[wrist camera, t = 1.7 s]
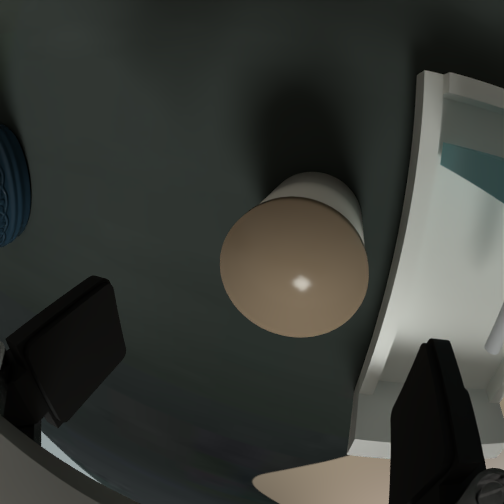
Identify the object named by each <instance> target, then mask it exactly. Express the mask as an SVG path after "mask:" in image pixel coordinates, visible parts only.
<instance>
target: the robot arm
mask: <svg viewBox="0 0 504 504" xmlns="http://www.w3.org/2000/svg"><path fill="white" fill-rule="evenodd" d="M6 341H7V344H8V346H9V348H10V349H8V350H7V351H6V349H5V346H4V344H3V343H2V342H1V341H0V504H140V503H138V502H136V501H133V500H131V499H129V498H127V497H125V496H123V495H121V494H119V493H117V492H115V491H113V490H111V489H109V488H107V487H106V486H104V485H102V484H100V483H98V482H96V481H95V480H93V479H91V478H89V477H88V476H86V475H84V474H83V473H81V472H79V471H78V470H76V469H74V468H73V467H71V466H70V465H68V464H66V463H65V462H63V461H62V460H60V459H59V458H57V457H56V456H54V455H53V454H51V453H50V452H48V451H47V450H45V449H44V448H43V447H41V419H42V418H43V417H45V418H46V420H47V421H48V422H49V423H51V424H52V425H54V426H55V427H57V428H59V427H60V426H61V424H62V423H63V422H67V421H68V420H69V419H70V418H71V417H72V416H73V415H74V414H75V412H76V411H77V410H78V409H79V408H80V407H81V406H82V404H83V403H84V402H85V401H86V400H87V399H88V398H89V397H90V395H91V394H92V393H93V392H94V391H95V390H96V389H97V388H98V386H99V385H100V384H101V383H102V382H103V381H104V380H105V379H106V377H107V376H108V375H109V374H110V373H111V372H112V371H113V370H114V368H115V367H116V366H117V365H118V364H119V363H120V362H121V361H122V360H123V358H124V356H125V354H126V347H125V343H124V338H123V334H122V329H121V325H120V320H119V315H118V310H117V305H116V300H115V294H114V289H113V286H112V285H111V284H110V282H109V280H108V279H105V278H102V277H98V276H90V277H89V278H87V279H86V280H84V281H83V282H81V283H80V284H79V285H77V286H76V287H74V288H73V289H72V290H70V291H69V292H67V293H66V294H65V295H63V296H62V297H60V298H59V299H58V300H56V301H55V302H54V303H52V304H51V305H49V306H48V307H47V308H45V309H44V310H43V311H41V312H40V313H39V314H37V315H36V316H35V317H33V318H32V319H31V320H29V321H28V322H27V323H25V324H24V325H23V326H21V327H20V328H19V329H18V330H16V331H15V332H14V333H12V334H11V335H10V336H9V337H7V338H6ZM390 427H391V463H390V464H391V465H390V491H389V504H504V470H502V469H498V468H490V469H486V466H485V460H484V455H483V449H482V445H481V440H480V435H479V431H478V426H477V422H476V418H475V414H474V410H473V406H472V402H471V399H470V395H469V393H468V390H466V389H465V387H464V384H463V380H462V377H461V374H460V370H459V367H458V364H457V361H456V358H455V355H454V351H453V348H452V345H451V343H450V341H449V340H443V339H433V338H431V339H429V340H428V342H427V343H422V344H421V346H420V348H419V350H418V353H417V355H416V358H415V360H414V363H413V365H412V367H411V369H410V372H409V374H408V376H407V379H406V381H405V383H404V385H403V387H402V389H401V392H400V394H399V396H398V398H397V400H396V402H395V404H394V406H393V408H392V411H391V417H390Z"/></svg>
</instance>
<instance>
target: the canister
mask: <svg viewBox="0 0 504 504" xmlns="http://www.w3.org/2000/svg"><path fill="white" fill-rule="evenodd" d="M30 204H31V193H30V181H29V174H28V169H27V164H26V160H25V157H24V154H23V151H22V148H21V146H20V144H19V142H18V140H17V138H16V136H15V135H14V133H13V132H12V131H11V130H10V129H9V128H8V127H7V126H5V125H3V124H0V247H4V246H5V245H7V244H9V243H11V242H12V241H14V240H15V238H16V237H17V236H19V235H20V234H21V233H22V232H23V231H24V229H25V228H26V225H27V222H28V219H29V214H30Z"/></svg>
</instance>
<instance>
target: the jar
mask: <svg viewBox="0 0 504 504" xmlns="http://www.w3.org/2000/svg"><path fill="white" fill-rule="evenodd" d="M220 271H221V277H222V281H223V284H224V287H225V290H226V292H227V294H228V296H229V297H230V299H231V301H232V302H233V304H234V305H235V306H236V307H237V309H238V310H239V311H240V312H241V313H242V314H243V315H244V316H245V317H247V318H248V319H249V320H250V321H252V322H253V323H255V324H256V325H258V326H259V327H261V328H263V329H265V330H268V331H270V332H273V333H276V334H279V335H283V336H289V337H312V336H317V335H321V334H324V333H327V332H330V331H332V330H334V329H336V328H338V327H339V326H341V325H342V324H344V323H345V322H346V321H347V320H349V319H350V318H351V317H352V316H353V315H354V313H355V312H356V311H357V310H358V308H359V307H360V305H361V303H362V301H363V299H364V297H365V294H366V291H367V286H368V280H369V269H368V259H367V253H366V249H365V246H364V235H363V223H362V213H361V208H360V205H359V202H358V200H357V198H356V196H355V195H354V193H353V192H352V191H351V189H350V188H349V187H348V186H347V185H346V184H344V183H343V182H342V181H340V180H339V179H337V178H335V177H333V176H331V175H328V174H325V173H321V172H304V173H299V174H296V175H293V176H291V177H289V178H288V179H286V180H285V181H283V182H282V183H281V184H280V185H279V186H278V187H277V188H276V189H275V190H273V191H272V192H271V193H270V194H269V195H268V196H267V197H266V198H265V199H264V200H263V201H262V202H261V203H260V204H259V205H257V206H255V207H253V208H252V209H251V210H249V211H248V212H247V213H246V214H245V215H243V216H242V217H241V218H240V219H239V220H238V221H237V222H236V223H235V224H234V226H233V227H232V228H231V230H230V231H229V233H228V235H227V236H226V238H225V241H224V243H223V246H222V250H221V255H220Z"/></svg>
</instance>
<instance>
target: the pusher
mask: <svg viewBox="0 0 504 504" xmlns="http://www.w3.org/2000/svg"><path fill="white" fill-rule="evenodd" d="M440 165H442V166H444V167H445V168H447V169H449V170H451V171H452V172H454V173H456V174H458V175H459V176H461V177H463V178H464V179H466V180H468V181H469V182H471V183H473V184H474V185H476V186H477V187H479V188H481V189H482V190H484V191H485V192H487V193H488V194H490V195H491V196H493V197H495V198H496V199H498V200H499V201H501V202H502V203H503V204H504V158H502V157H498V156H495V155H491V154H488V153H484V152H481V151H477V150H473V149H469V148H465V147H461V146H457V145H453V144H449V143H445V142H443V146H442V155H441V162H440ZM503 344H504V302H503V305H502V307H501V310H500V312H499V314H498V317H497V319H496V321H495V324H494V326H493V328H492V330H491V332H490V335H489V337H488V339H487V341H486V343H485V345H484V348H485V350H486V351H487V352H489V353H490V354H493V355H496V354H498V353H499V351H500V350H501V348H502V346H503Z"/></svg>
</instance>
